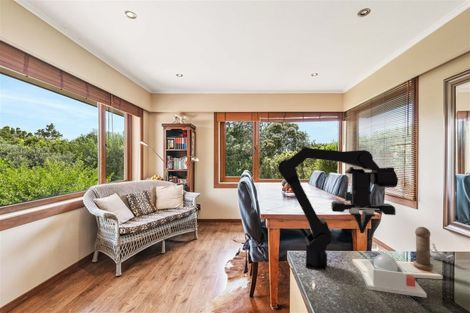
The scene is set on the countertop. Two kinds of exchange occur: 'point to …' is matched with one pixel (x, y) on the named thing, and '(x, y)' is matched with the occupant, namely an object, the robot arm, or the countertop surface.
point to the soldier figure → (441, 255)
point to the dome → (385, 263)
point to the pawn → (423, 249)
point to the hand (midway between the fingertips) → (361, 233)
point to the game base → (391, 281)
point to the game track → (407, 268)
